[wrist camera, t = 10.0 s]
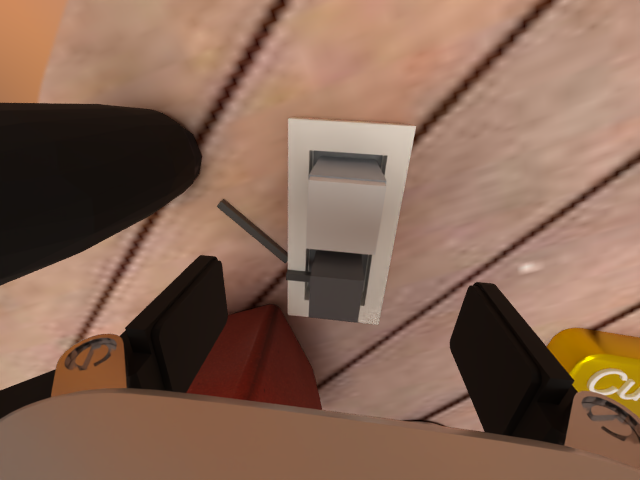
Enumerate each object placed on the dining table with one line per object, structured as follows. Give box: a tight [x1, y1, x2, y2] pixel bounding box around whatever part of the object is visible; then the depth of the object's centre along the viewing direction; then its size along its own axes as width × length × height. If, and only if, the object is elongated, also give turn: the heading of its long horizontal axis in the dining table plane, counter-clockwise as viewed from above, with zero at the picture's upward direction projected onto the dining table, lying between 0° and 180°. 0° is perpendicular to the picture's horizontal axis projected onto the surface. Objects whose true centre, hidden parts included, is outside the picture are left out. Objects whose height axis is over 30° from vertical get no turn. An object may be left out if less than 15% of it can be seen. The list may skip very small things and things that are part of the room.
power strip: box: [217, 117, 416, 325], centre depth 26 cm, size 18×20×7 cm
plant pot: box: [186, 304, 322, 410], centre depth 30 cm, size 19×19×17 cm
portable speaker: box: [0, 103, 202, 285], centre depth 18 cm, size 9×9×20 cm
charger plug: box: [306, 156, 387, 255], centre depth 22 cm, size 5×5×9 cm
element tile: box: [547, 328, 640, 418], centre depth 33 cm, size 15×15×5 cm
